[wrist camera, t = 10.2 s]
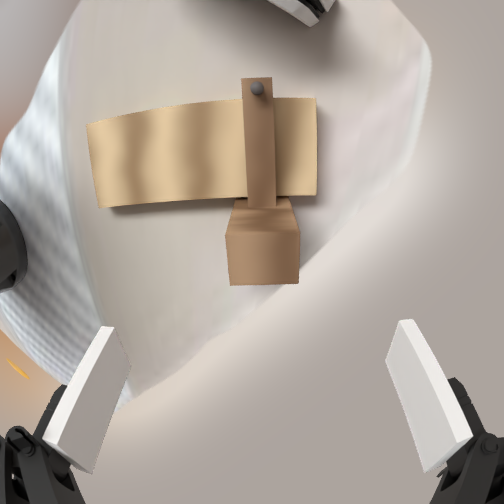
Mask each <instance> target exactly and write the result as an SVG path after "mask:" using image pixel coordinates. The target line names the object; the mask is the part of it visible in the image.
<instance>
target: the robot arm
mask: <svg viewBox="0 0 504 504" xmlns="http://www.w3.org/2000/svg"><path fill="white" fill-rule="evenodd" d="M26 270H27V253H26V248H25V243H24V240H23V237H22V234H21V231H20V229H19V226H18V224H17V222H16V220H15V219H14V217H13V215H12V214H11V212H10V211H9V209H8V208H7V207H6V206H5V205H4V204H3V203H2V202H1V201H0V293H2V292H5V291H8V290H10V289H12V288H14V287H15V286H16V285H17V284H18V283H19V282H20V281H21V280H22V279H23V278H24V276H25V274H26ZM385 362H386V365H387V367H388V370H389V372H390V375H391V377H392V380H393V383H394V385H395V388H396V390H397V393H398V396H399V398H400V401H401V404H402V407H403V409H404V412H405V415H406V418H407V421H408V424H409V427H410V430H411V433H412V435H413V438H414V442H415V445H416V448H417V451H418V454H419V458H420V461H421V464H422V468H423V471H424V473H425V472H428V471H431V470H433V469H436V468H438V467H440V466H441V465H442V464H444V463H445V462H447V467H446V468H445V469H443V470H442V471H441V472H440V473H439V474H438V475H437V477H440V476H441V475H442V474H443V476H442V478H441V480H440V483H439V485H438V487H437V489H436V491H435V494H434V496H433V498H432V500H431V502H430V504H504V437H502V438H497V437H496V436H495V435H493V434H491V433H487V432H486V431H485V429H484V427H483V425H482V423H481V421H480V419H479V417H478V414H477V412H476V410H475V408H474V406H473V404H471V400H470V398H469V396H467V395H468V394H467V392H466V390H465V388H464V386H463V385H462V384H461V383H460V382H459V381H458V380H457V379H456V378H455V377H454V378H451V379H448V380H447V379H446V377H445V375H444V373H443V371H442V369H441V367H440V366H439V364H438V362H437V360H436V358H435V356H434V355H433V353H432V351H431V349H430V348H429V346H428V344H427V342H426V340H425V339H424V337H423V335H422V334H421V332H420V330H419V328H418V327H417V325H416V323H415V322H414V320H413V319H407V320H400V321H399V322H398V325H397V328H396V331H395V334H394V337H393V340H392V343H391V346H390V349H389V352H388V355H387V357H386V360H385ZM130 369H131V364H130V362H129V360H128V357H127V355H126V353H125V351H124V349H123V346H122V344H121V342H120V339H119V337H118V335H117V332H116V330H115V327H105V326H101V328H100V329H99V331H98V333H97V334H96V336H95V338H94V340H93V341H92V343H91V345H90V346H89V348H88V350H87V352H86V353H85V355H84V357H83V359H82V360H81V362H80V364H79V366H78V368H77V369H76V371H75V373H74V375H73V377H72V379H71V380H70V382H69V384H68V386H66V385H63V384H62V385H61V386H60V387H59V388H58V389H57V390H56V391H55V392H54V394H53V396H52V398H51V400H50V403H48V405H47V407H46V410H45V411H44V413H43V416H42V417H41V419H40V421H39V424H38V426H37V428H36V430H35V432H34V434H33V435H31V434H30V433H29V432H28V431H27V430H26V429H24V427H21V426H14V427H12V428H11V429H9V431H8V432H7V434H6V437H5V439H4V438H3V437H2V436H1V435H0V504H85V501H84V499H83V497H82V495H81V493H80V490H79V488H78V486H77V483H76V481H75V478H74V475H73V473H72V471H71V469H70V468H69V467H70V465H71V464H72V465H73V466H74V467H75V468H77V469H79V470H81V471H84V472H87V473H90V474H92V473H93V469H94V466H95V463H96V460H97V457H98V454H99V451H100V448H101V445H102V443H103V439H104V437H105V433H106V431H107V428H108V426H109V423H110V420H111V417H112V415H113V412H114V409H115V407H116V404H117V401H118V399H119V396H120V394H121V391H122V389H123V386H124V384H125V381H126V379H127V376H128V374H129V371H130ZM12 474H14V479H12Z"/></svg>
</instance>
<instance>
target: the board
mask: <svg viewBox="0 0 504 504" xmlns="http://www.w3.org/2000/svg"><path fill="white" fill-rule="evenodd" d="M273 113H274V140H275V173H276V196H292V195H316V188H317V121H316V98H273ZM86 127H87V137H88V145H89V153H90V160H91V167H92V173H93V179H94V185H95V190H96V196H97V201H98V206H99V208H104V207H113V206H123V205H133V204H143V203H154V202H167V201H180V200H194V199H211V198H230V197H248V196H247V177H246V158H245V139H244V120H243V101H242V99H234V100H221V101H210V102H201V103H192V104H185V105H177V106H170V107H164V108H158V109H152V110H147V111H142V112H136V113H132V114H127V115H122V116H118V117H113V118H109V119H105V120H101V121H97V122H93V123H90V124H86Z"/></svg>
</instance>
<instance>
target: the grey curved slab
mask: <svg viewBox="0 0 504 504" xmlns="http://www.w3.org/2000/svg"><path fill="white" fill-rule="evenodd" d="M267 1H269V2H270V3H272V4H274V5H276V6H277V7H279V8H281V9H282V10H284V11H286V12H287V13H289V14H290V15H292V16H294V17H295V18H297V19H298V20H300V21H301V22H303V23H304V24H306V25H307V26H309V27H312V26H313V25H315V24H316V23H318V22H319V20H318V18H319V15H318V14H317V12H316V11H315V10H314V8H315V9H317V10H318V11H320V12H321V13H323V12H324V11H326V12H327V13H328V11H329V10H330V8H331V6H332V5H333V3H334V2H335V1H336V0H267ZM313 7H314V8H313Z"/></svg>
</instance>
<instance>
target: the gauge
mask: <svg viewBox="0 0 504 504" xmlns="http://www.w3.org/2000/svg"><path fill="white" fill-rule="evenodd" d="M241 81H242V101H243V120H244V139H245V158H246V177H247V196H248V197H236V199H235V203H234V206H233V210H232V213H231V217H230V220H229V224H228V227H227V231H226V234H225V238H226V249H227V259H228V270H229V280H230V286H231V285H273V284H298V283H299V256H300V231H299V228H298V225H297V222H296V219H295V216H294V213H293V210H292V207H291V204H290V201H289V198H288V196H276V173H275V140H274V113H273V90H272V77H270V78H244V79H241Z"/></svg>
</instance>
